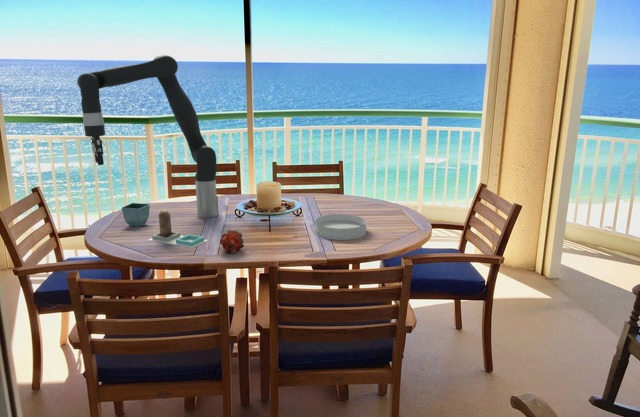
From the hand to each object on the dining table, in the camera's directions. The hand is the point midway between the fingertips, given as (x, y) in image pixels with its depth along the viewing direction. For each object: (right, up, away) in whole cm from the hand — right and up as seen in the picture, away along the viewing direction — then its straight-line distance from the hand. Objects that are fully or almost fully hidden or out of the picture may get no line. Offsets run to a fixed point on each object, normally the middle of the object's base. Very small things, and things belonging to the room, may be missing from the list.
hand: (99, 163), depth 202 cm
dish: (+100, -29, +8) cm, 104 cm away
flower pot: (+10, -26, +15) cm, 32 cm away
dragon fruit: (+58, -35, -17) cm, 70 cm away
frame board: (+35, -32, -8) cm, 48 cm away
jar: (+29, -30, -6) cm, 43 cm away
